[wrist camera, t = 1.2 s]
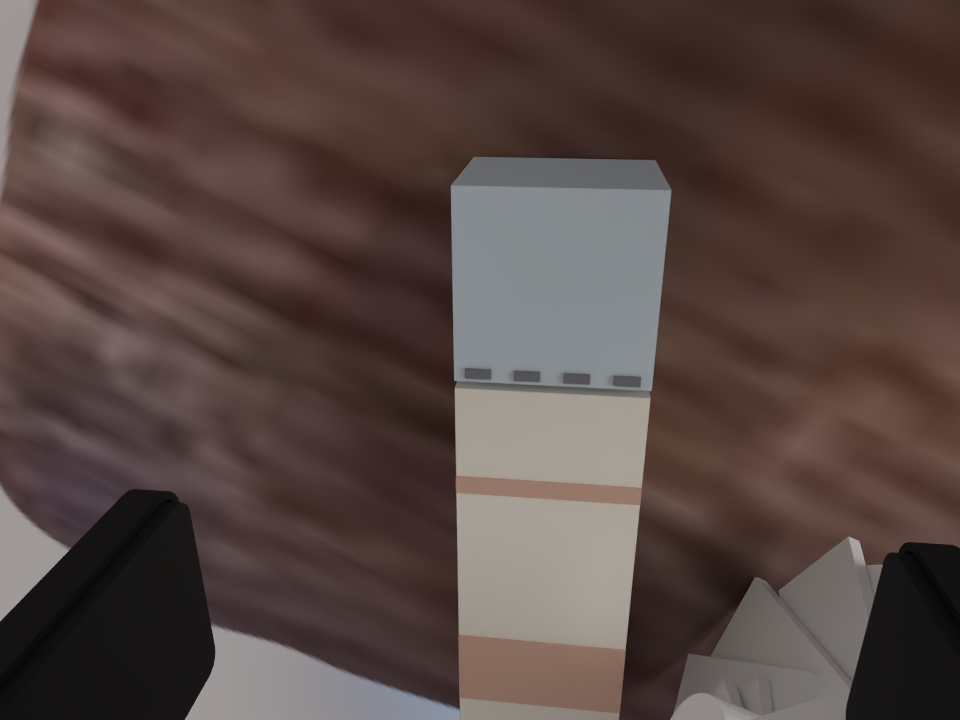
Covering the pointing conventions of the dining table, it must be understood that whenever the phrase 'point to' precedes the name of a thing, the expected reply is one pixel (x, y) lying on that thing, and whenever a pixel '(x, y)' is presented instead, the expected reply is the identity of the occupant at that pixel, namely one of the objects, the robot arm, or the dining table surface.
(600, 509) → the block
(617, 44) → the dining table surface
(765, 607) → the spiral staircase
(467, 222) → the grey box
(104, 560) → the robot arm
